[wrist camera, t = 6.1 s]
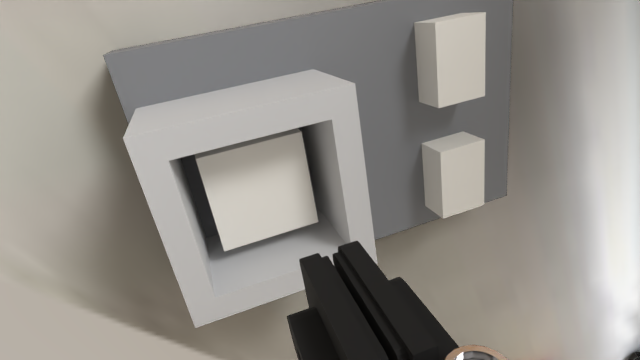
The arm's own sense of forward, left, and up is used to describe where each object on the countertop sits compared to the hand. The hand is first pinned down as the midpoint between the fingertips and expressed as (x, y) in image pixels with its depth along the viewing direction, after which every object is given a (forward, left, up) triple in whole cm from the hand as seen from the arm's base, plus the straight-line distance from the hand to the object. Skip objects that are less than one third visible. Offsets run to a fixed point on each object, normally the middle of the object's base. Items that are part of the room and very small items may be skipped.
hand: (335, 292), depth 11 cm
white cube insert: (0, 0, -12) cm, 12 cm away
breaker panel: (-6, 0, -15) cm, 16 cm away
